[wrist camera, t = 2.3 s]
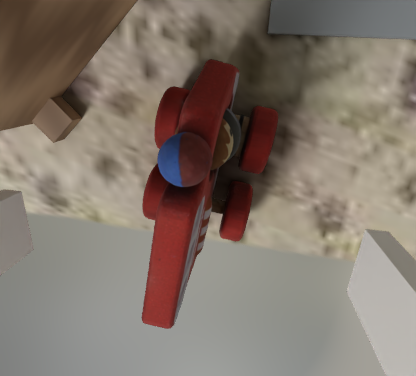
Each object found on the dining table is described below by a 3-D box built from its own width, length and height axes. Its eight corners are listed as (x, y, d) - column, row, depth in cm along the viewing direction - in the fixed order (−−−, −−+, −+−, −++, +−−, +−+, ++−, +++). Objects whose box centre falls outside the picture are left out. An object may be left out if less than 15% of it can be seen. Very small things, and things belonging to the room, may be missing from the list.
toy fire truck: (285, 79, 17) (330, 82, 8) (235, 239, 22) (226, 360, 13) (180, 53, 18) (101, 27, 8) (153, 217, 23) (84, 320, 13)
